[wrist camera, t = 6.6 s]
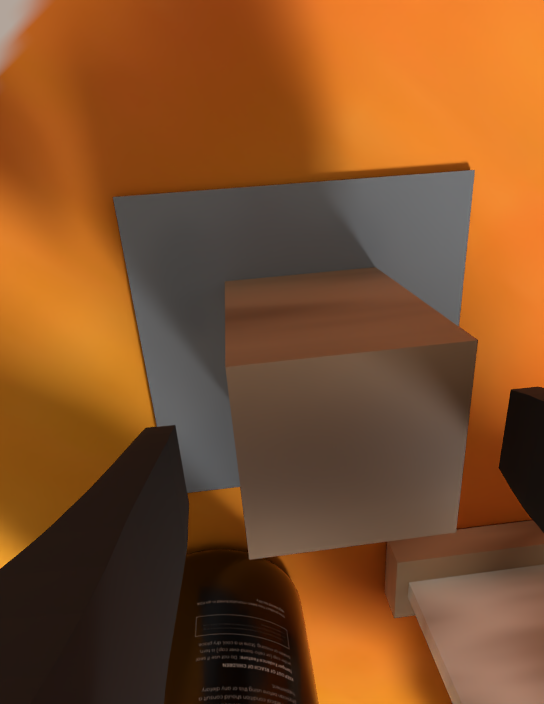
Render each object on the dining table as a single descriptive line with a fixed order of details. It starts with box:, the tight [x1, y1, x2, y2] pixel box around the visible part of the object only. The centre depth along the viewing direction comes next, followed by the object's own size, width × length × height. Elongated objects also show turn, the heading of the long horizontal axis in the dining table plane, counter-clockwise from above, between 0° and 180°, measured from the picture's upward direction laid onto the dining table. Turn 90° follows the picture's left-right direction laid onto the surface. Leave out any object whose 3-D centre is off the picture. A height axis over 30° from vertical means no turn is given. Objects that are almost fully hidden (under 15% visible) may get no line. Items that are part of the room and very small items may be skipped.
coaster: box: [113, 170, 475, 493], centre depth 15 cm, size 10×10×1 cm
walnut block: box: [225, 267, 478, 560], centre depth 12 cm, size 4×4×6 cm
